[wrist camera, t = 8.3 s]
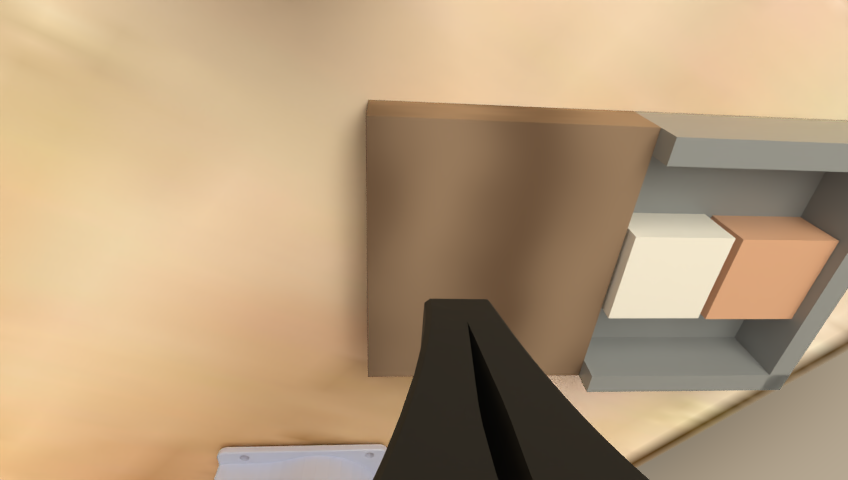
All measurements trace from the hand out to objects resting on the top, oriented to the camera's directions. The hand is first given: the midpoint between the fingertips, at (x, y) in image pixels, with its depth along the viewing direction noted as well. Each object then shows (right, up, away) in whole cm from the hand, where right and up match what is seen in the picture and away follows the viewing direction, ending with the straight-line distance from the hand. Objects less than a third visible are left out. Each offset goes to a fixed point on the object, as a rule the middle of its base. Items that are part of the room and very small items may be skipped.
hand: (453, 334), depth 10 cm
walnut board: (+2, +2, +10) cm, 10 cm away
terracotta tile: (+14, +1, +11) cm, 17 cm away
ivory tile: (+9, +1, +10) cm, 14 cm away
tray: (+12, +2, +11) cm, 16 cm away
